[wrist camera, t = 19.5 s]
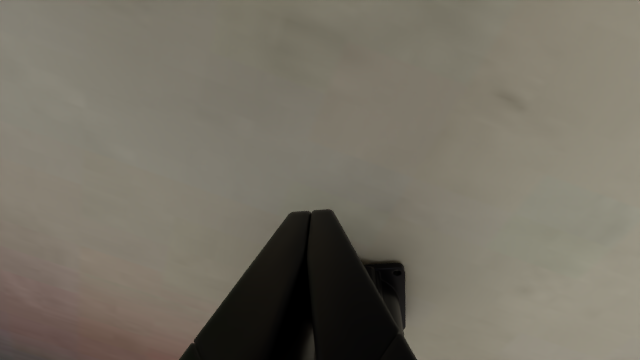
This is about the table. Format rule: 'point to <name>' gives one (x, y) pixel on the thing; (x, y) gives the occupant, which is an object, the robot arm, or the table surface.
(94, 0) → the table surface
